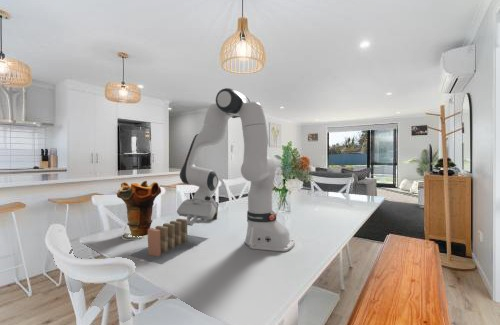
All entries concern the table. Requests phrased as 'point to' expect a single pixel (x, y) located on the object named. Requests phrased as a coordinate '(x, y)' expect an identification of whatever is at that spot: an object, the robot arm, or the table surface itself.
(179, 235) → the domino
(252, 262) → the table surface
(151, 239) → the domino
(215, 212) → the food container
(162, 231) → the domino
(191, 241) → the mat
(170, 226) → the domino
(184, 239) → the domino
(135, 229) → the decorative vase
